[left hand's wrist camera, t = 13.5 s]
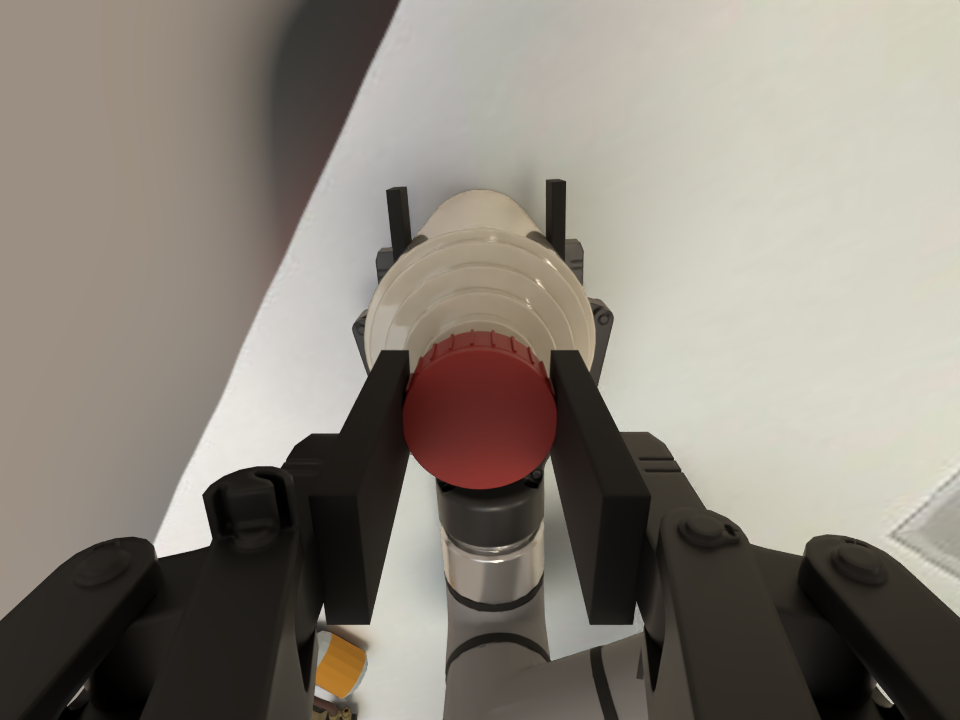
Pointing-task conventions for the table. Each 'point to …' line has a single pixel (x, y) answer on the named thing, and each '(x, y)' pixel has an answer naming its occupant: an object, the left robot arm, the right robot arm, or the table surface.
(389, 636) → the table surface
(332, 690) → the spray gun
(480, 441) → the cap
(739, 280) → the table surface
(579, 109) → the table surface
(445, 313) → the bottle
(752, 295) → the table surface
